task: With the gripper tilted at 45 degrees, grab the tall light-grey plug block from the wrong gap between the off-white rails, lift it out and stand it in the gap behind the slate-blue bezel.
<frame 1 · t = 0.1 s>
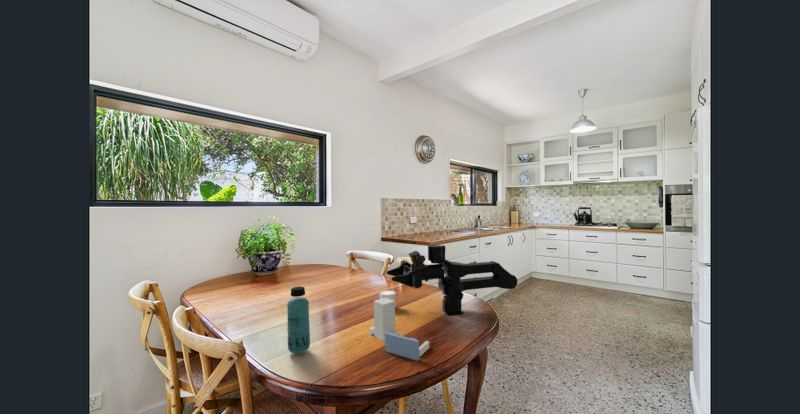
hand: (389, 275, 122), 17 cm above the table, tool horizontal, fingers open, 9 cm apart
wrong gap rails: (384, 336, 108), on the table
beverage bottle: (299, 353, 98), on the table
plug block: (384, 336, 108), on the table
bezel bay: (410, 348, 100), on the table
shot glass: (388, 309, 133), on the table
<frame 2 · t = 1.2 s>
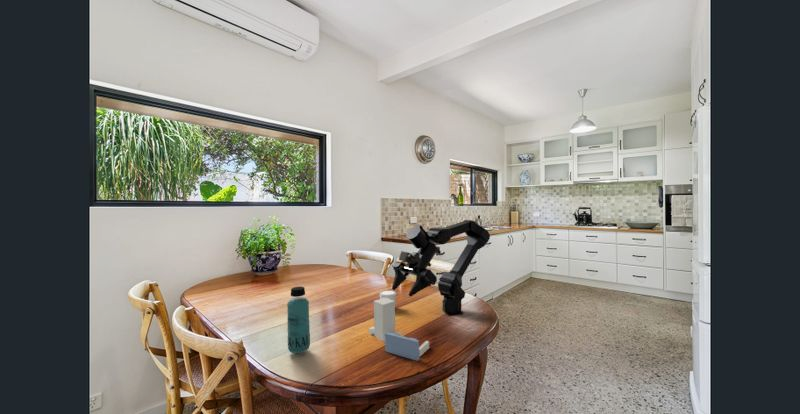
hand: (400, 292, 112), 13 cm above the table, tool tilted 45°, fingers open, 9 cm apart
nothing on the table moved.
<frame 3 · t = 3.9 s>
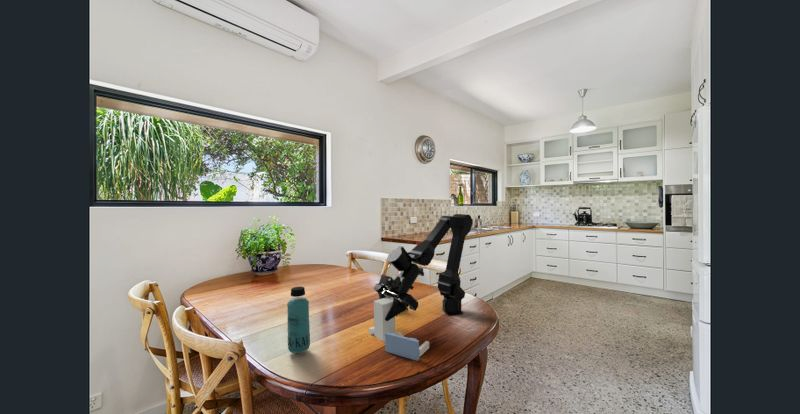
hand: (381, 318, 107), 7 cm above the table, tool tilted 45°, fingers closed on plug block, 5 cm apart
plug block: (384, 336, 108), on the table, touching gripper
everything else where it was.
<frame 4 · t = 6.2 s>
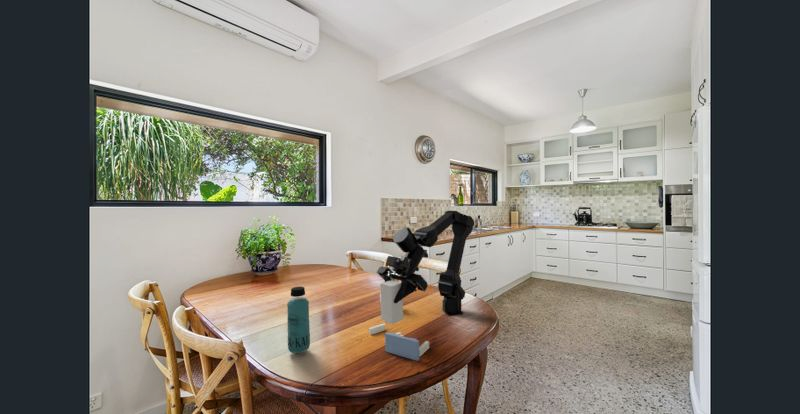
hand: (388, 300, 103), 13 cm above the table, tool tilted 45°, fingers closed on plug block, 5 cm apart
plug block: (392, 319, 104), point 7 cm above the table, touching gripper
everything else where it was.
when the fingers open (8 cm above the table, at t = 8.7 s): plug block drops 1 cm, on the table.
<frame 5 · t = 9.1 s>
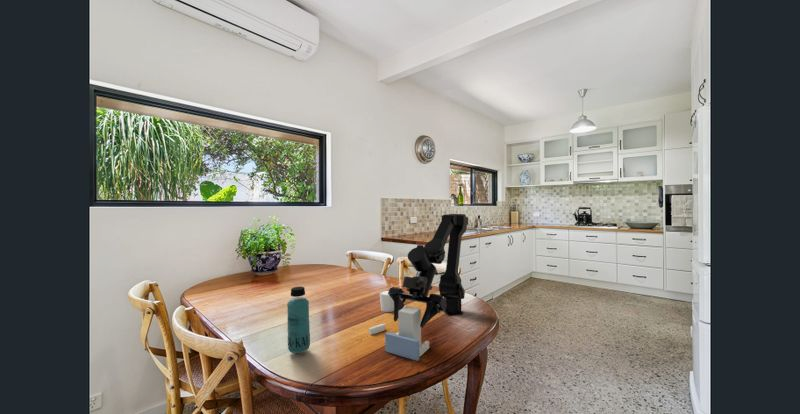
hand: (407, 324, 98), 8 cm above the table, tool tilted 45°, fingers open, 9 cm apart
plug block: (410, 348, 100), on the table
everything else where it was.
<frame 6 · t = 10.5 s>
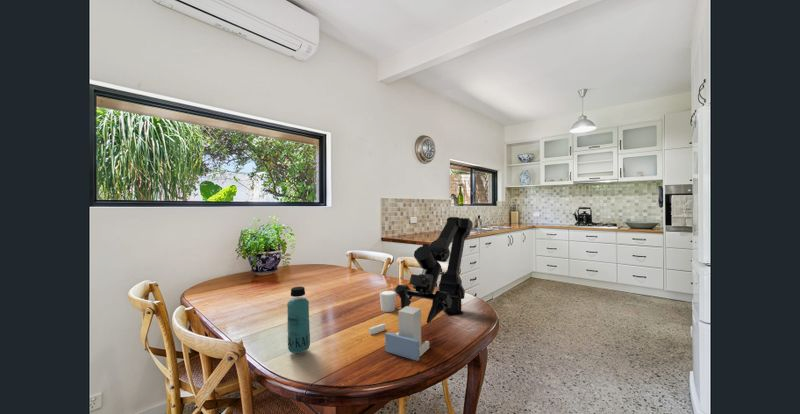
hand: (414, 320, 102), 8 cm above the table, tool tilted 45°, fingers open, 9 cm apart
nothing on the table moved.
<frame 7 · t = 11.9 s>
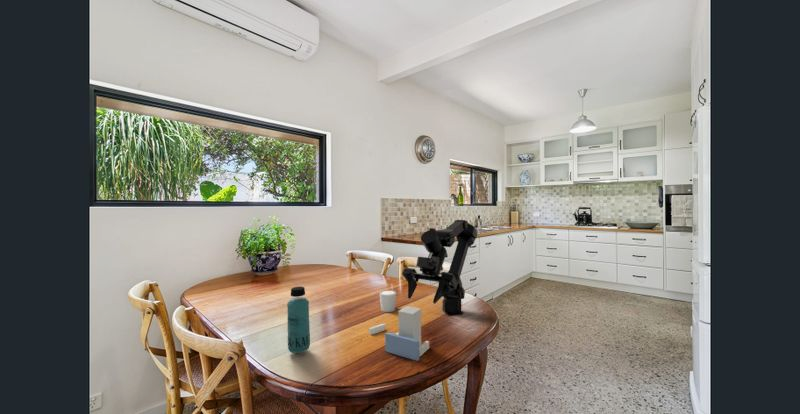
hand: (421, 300, 105), 13 cm above the table, tool tilted 45°, fingers open, 9 cm apart
nothing on the table moved.
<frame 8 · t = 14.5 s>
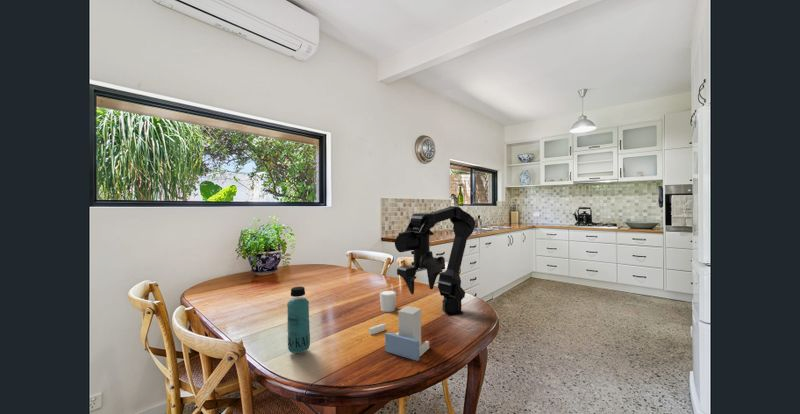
hand: (422, 291, 117), 12 cm above the table, tool pointing down, fingers open, 9 cm apart
nothing on the table moved.
at the end: plug block 0.0 cm off-centre on the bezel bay, point 0.0 cm above the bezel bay's base; plug block tilted 0°; the gripper is holding nothing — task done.
